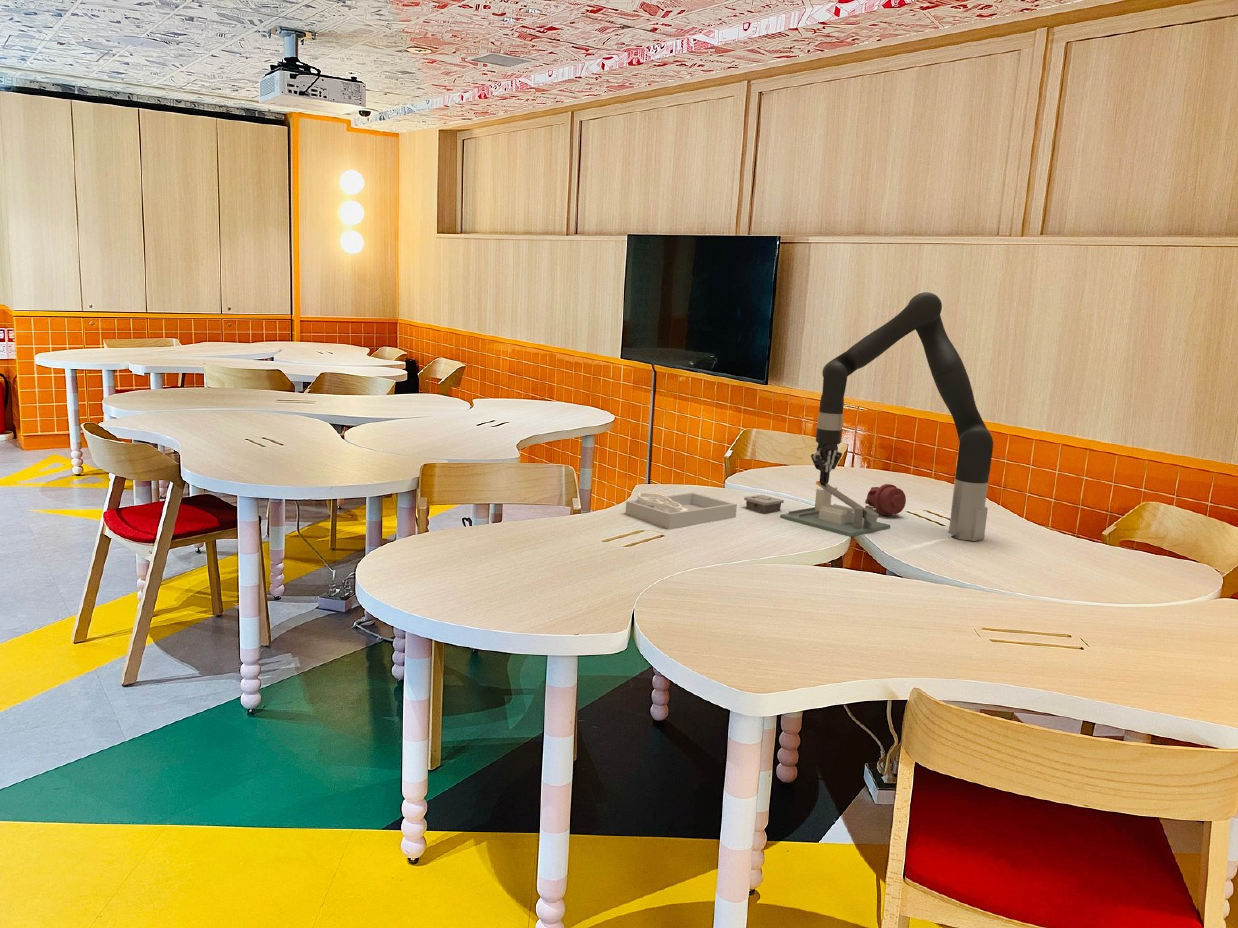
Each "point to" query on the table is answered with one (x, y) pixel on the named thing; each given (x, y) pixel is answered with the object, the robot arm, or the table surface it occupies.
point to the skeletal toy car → (661, 502)
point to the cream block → (822, 498)
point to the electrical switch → (763, 503)
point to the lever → (850, 502)
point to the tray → (697, 513)
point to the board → (834, 526)
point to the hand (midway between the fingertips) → (824, 483)
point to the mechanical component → (886, 499)
